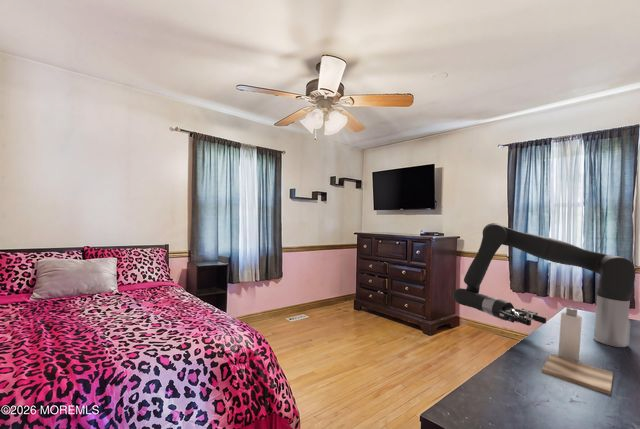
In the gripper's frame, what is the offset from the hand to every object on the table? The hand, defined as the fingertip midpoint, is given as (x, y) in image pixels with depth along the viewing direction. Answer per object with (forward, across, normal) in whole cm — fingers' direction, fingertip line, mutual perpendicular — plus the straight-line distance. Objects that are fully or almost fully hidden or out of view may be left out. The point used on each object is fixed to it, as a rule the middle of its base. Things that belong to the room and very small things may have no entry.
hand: (538, 322), depth 114 cm
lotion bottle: (+10, 0, +8) cm, 13 cm away
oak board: (+18, -10, +8) cm, 23 cm away
